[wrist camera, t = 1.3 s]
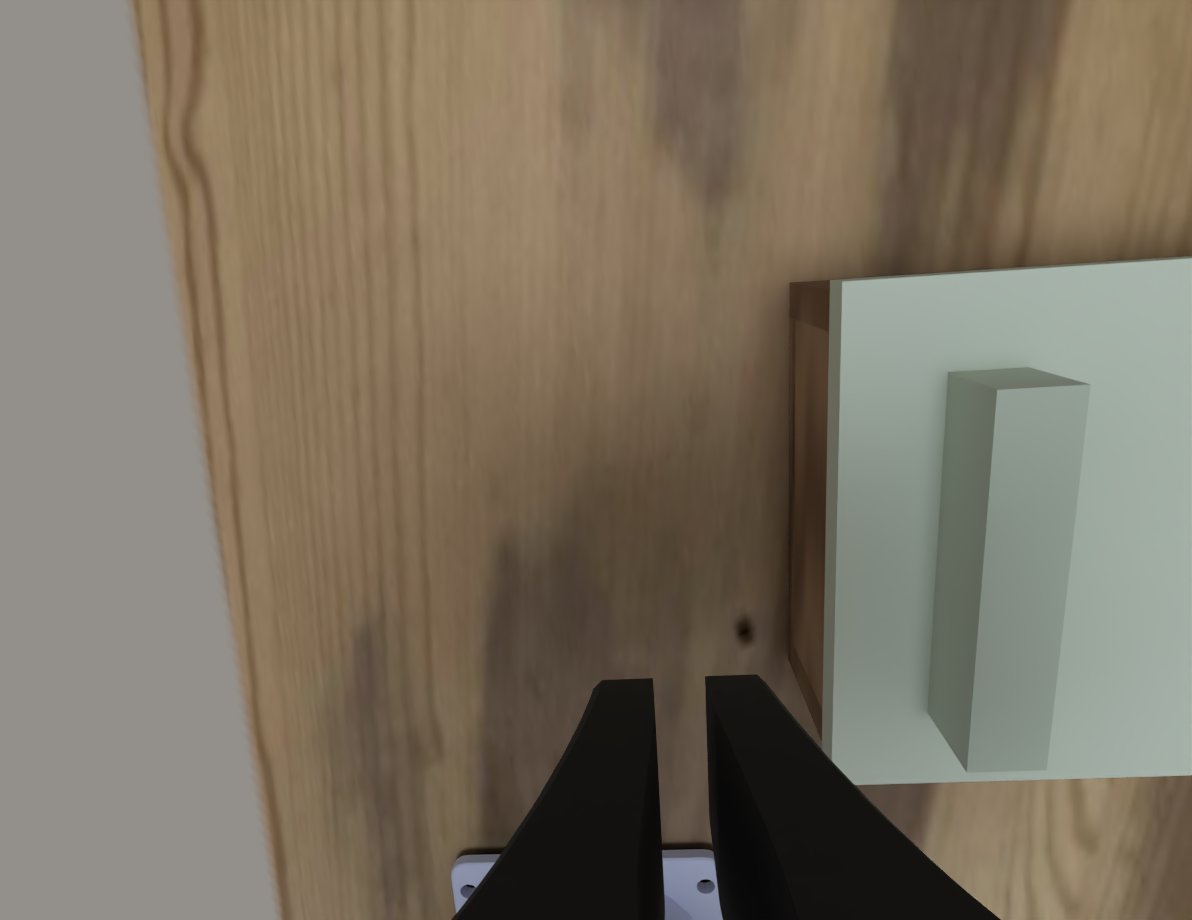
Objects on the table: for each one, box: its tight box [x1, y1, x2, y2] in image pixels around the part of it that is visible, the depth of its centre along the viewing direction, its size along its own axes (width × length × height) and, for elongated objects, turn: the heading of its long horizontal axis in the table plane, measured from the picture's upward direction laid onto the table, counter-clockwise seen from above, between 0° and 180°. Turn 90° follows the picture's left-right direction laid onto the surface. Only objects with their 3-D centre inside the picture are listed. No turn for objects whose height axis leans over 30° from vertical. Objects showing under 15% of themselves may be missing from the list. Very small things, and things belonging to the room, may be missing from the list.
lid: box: [822, 256, 1192, 785], centre depth 13 cm, size 10×12×3 cm
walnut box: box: [789, 280, 830, 741], centre depth 17 cm, size 10×12×4 cm
